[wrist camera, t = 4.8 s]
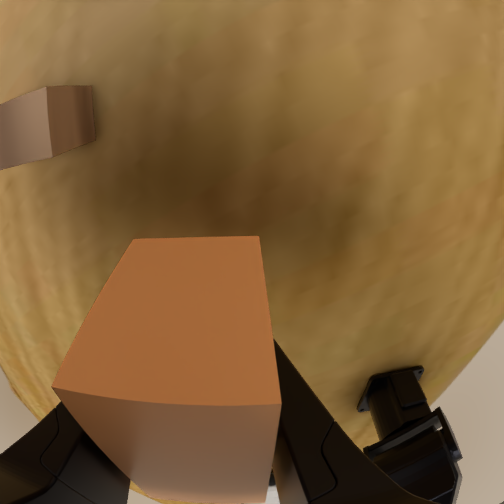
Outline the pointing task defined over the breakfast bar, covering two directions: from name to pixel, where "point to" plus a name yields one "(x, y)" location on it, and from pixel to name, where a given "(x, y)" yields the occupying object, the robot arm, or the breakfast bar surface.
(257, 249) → the orange brick
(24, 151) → the walnut brick
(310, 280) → the breakfast bar surface
